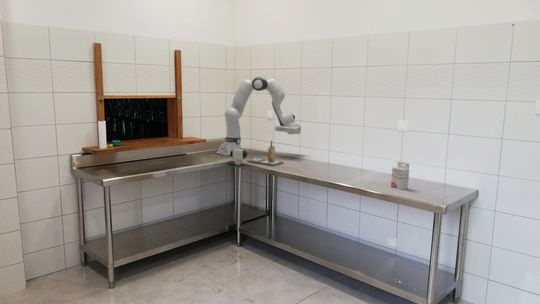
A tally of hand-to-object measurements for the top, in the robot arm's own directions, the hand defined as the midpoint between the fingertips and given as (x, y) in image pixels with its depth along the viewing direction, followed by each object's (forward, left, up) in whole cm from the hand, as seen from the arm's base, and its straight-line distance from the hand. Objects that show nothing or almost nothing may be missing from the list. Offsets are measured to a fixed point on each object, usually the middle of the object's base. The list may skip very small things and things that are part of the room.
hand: (281, 129), depth 316 cm
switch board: (-1, -19, -23) cm, 30 cm away
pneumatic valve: (-11, -37, -24) cm, 45 cm away
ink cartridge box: (+104, -28, -24) cm, 110 cm away
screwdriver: (+5, -19, -22) cm, 29 cm away
